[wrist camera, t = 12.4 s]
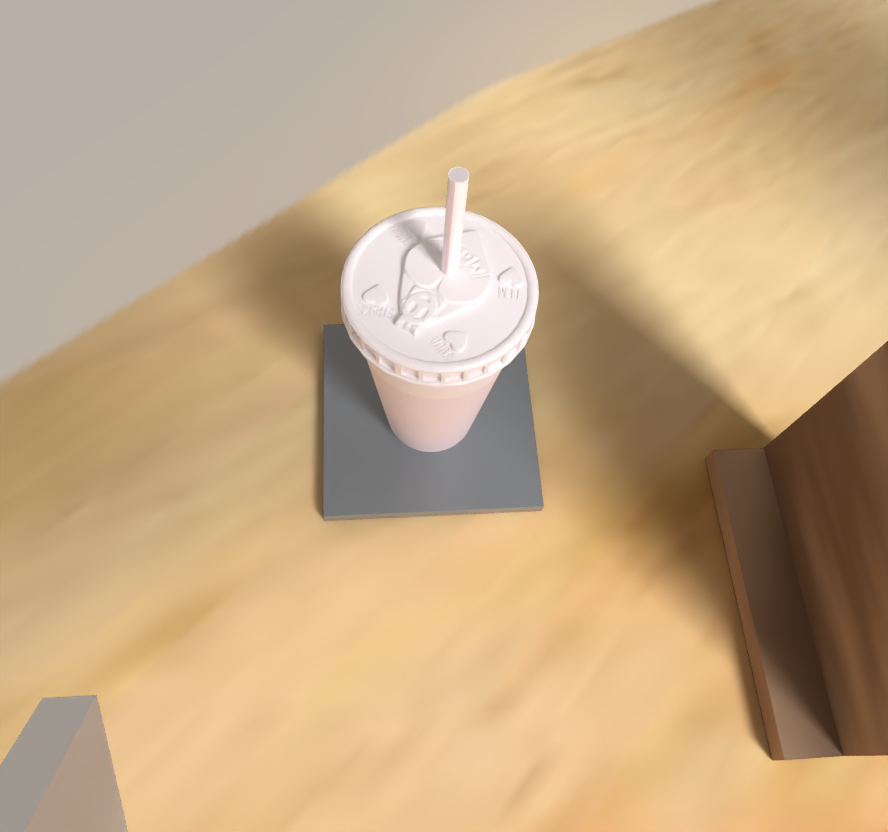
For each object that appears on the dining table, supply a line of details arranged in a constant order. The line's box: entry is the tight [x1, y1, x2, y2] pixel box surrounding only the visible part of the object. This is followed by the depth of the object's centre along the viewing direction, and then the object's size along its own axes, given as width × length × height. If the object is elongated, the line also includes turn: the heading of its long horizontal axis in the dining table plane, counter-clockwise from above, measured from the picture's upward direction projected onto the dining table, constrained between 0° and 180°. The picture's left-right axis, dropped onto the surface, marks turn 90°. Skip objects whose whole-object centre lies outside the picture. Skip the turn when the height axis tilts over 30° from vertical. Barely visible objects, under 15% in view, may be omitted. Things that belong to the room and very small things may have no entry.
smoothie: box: [340, 167, 539, 452], centre depth 26 cm, size 6×6×14 cm
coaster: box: [323, 324, 544, 521], centre depth 33 cm, size 9×9×1 cm
